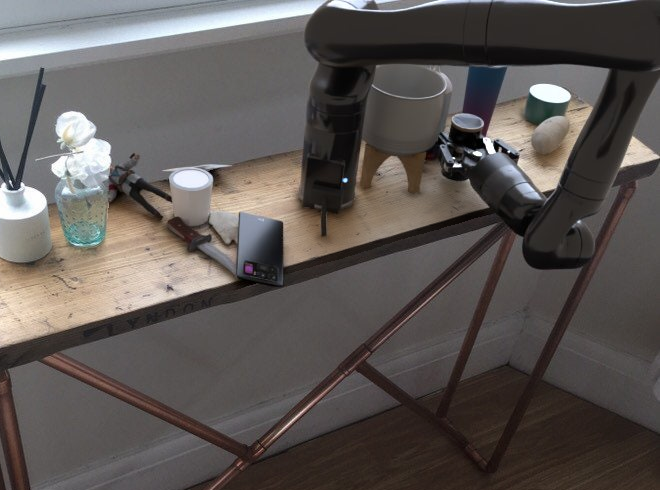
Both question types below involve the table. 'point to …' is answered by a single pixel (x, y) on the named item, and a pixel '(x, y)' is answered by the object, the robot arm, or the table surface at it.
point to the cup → (483, 92)
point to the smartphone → (260, 250)
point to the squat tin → (546, 103)
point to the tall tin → (464, 137)
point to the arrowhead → (225, 225)
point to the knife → (199, 242)
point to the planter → (401, 119)
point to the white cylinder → (191, 195)
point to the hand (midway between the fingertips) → (455, 135)
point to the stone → (550, 134)
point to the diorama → (200, 167)
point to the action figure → (133, 185)
